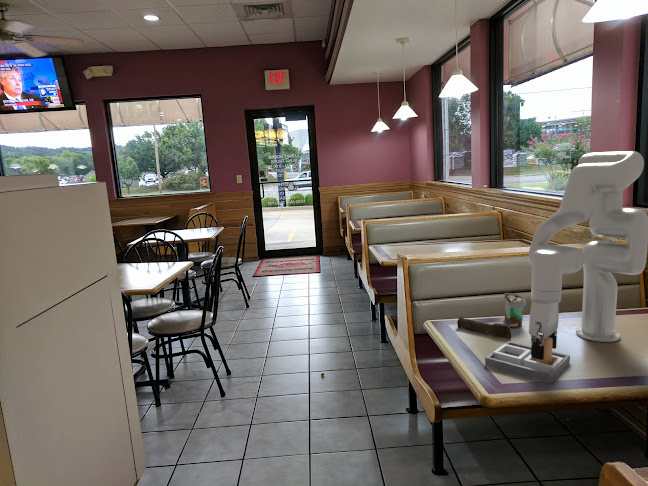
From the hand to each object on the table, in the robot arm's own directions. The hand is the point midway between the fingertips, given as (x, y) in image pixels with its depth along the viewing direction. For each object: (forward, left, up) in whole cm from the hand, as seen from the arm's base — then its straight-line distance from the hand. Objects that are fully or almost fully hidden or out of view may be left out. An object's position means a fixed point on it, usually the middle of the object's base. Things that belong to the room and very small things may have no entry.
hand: (543, 352), depth 132 cm
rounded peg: (0, 0, -4) cm, 4 cm away
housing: (0, -4, -5) cm, 7 cm away
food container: (-31, -20, -5) cm, 38 cm away
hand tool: (-17, -26, -5) cm, 31 cm away
